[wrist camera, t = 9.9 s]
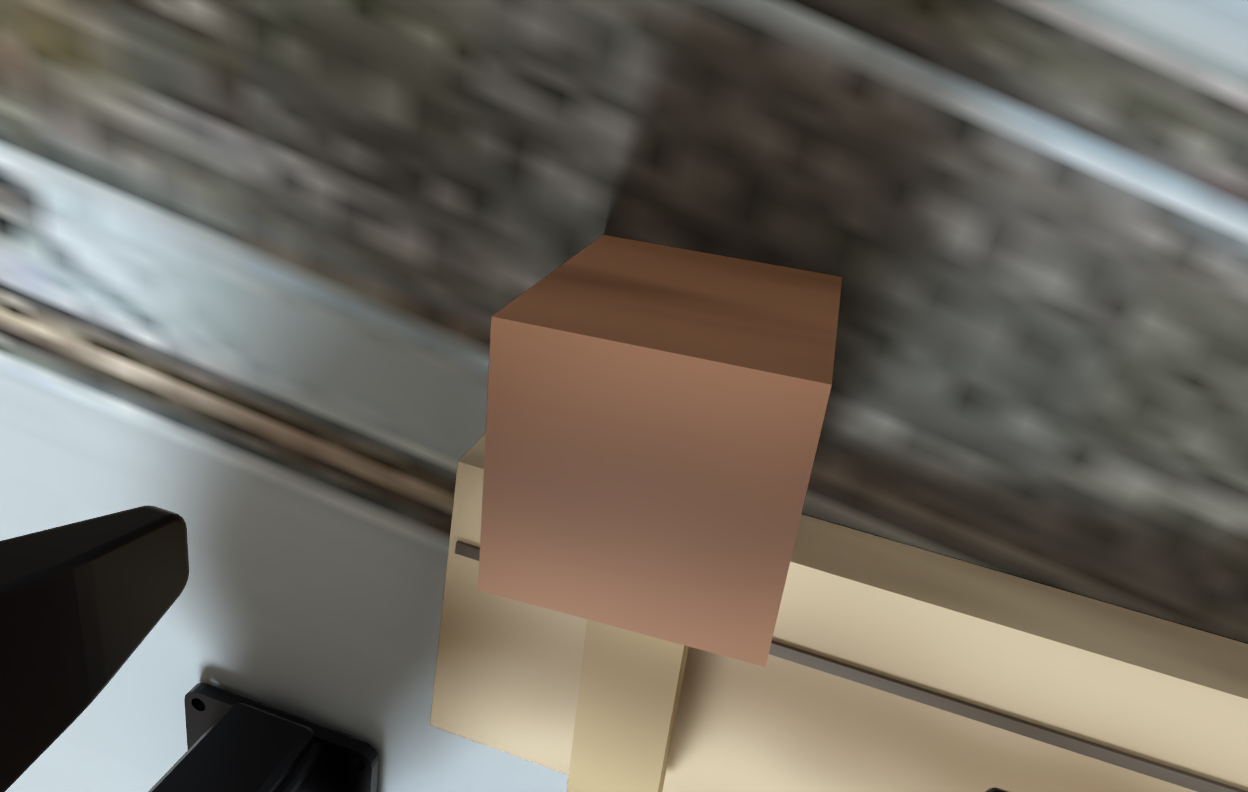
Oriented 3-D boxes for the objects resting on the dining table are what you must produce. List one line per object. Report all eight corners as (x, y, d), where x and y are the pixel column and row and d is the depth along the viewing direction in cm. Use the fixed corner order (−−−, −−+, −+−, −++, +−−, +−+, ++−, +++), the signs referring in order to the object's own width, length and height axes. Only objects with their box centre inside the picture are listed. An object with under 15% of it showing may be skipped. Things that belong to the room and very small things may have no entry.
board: (1451, 1015, 19) (1514, 1119, 18) (462, 673, 24) (427, 727, 22) (1698, 775, 16) (1807, 871, 14) (493, 424, 20) (456, 463, 18)
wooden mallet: (737, 736, 22) (697, 959, 17) (557, 684, 23) (463, 879, 18) (842, 276, 17) (831, 385, 11) (603, 234, 18) (490, 316, 12)
